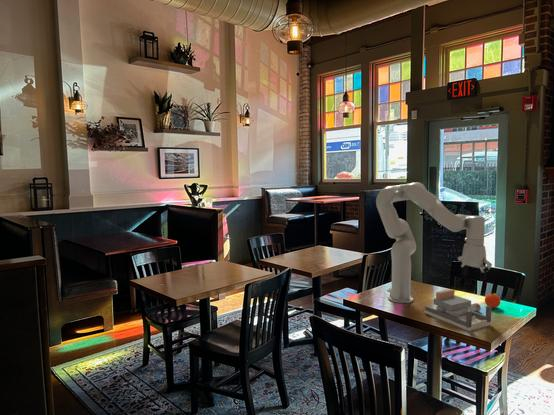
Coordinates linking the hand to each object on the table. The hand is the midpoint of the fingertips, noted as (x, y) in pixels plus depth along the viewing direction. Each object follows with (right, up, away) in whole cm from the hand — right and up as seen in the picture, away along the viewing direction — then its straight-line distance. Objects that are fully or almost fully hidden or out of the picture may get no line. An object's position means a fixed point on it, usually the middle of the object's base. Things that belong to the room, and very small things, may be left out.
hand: (473, 277), depth 194 cm
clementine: (+14, -16, +9) cm, 24 cm away
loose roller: (0, -17, +2) cm, 17 cm away
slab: (-12, -12, -4) cm, 17 cm away
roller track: (-11, -18, -6) cm, 22 cm away
